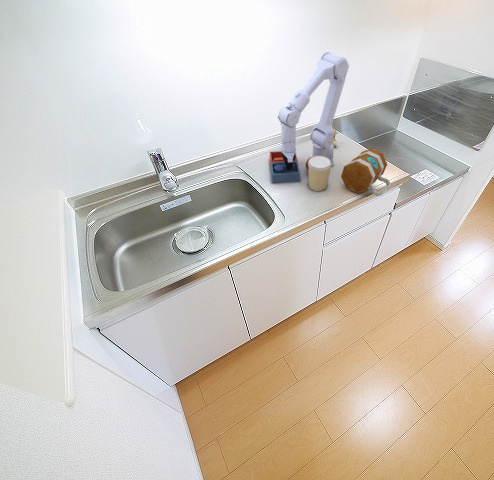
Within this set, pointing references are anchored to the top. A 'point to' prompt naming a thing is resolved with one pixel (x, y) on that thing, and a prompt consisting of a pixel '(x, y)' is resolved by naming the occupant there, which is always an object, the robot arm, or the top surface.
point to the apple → (307, 164)
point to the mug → (365, 172)
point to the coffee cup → (318, 172)
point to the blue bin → (285, 174)
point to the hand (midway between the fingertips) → (288, 167)
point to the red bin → (277, 156)
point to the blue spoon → (283, 168)
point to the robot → (334, 139)
